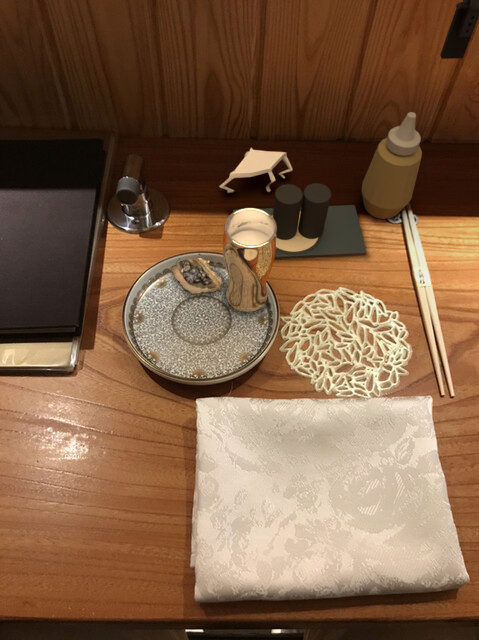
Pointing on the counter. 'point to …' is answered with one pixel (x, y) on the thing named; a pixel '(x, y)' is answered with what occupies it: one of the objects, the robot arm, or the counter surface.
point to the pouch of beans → (196, 275)
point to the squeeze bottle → (393, 171)
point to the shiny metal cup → (249, 257)
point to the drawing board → (326, 237)
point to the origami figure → (258, 166)
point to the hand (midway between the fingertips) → (437, 26)
